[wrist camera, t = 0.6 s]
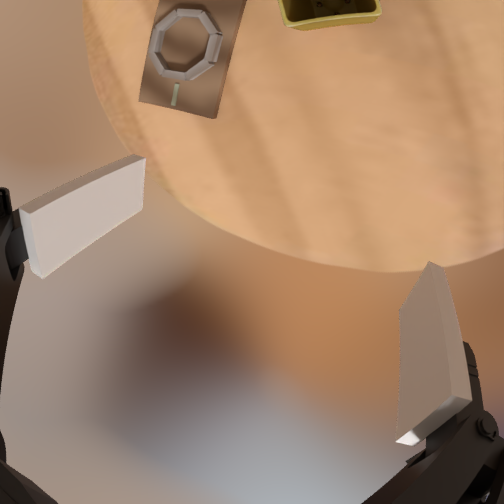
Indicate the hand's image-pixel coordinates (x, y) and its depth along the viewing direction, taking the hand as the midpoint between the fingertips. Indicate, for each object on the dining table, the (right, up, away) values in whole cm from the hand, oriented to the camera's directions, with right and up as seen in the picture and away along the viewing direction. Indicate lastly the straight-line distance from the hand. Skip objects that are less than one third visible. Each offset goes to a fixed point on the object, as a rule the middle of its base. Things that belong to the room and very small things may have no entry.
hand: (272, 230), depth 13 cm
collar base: (-9, +25, +20) cm, 34 cm away
